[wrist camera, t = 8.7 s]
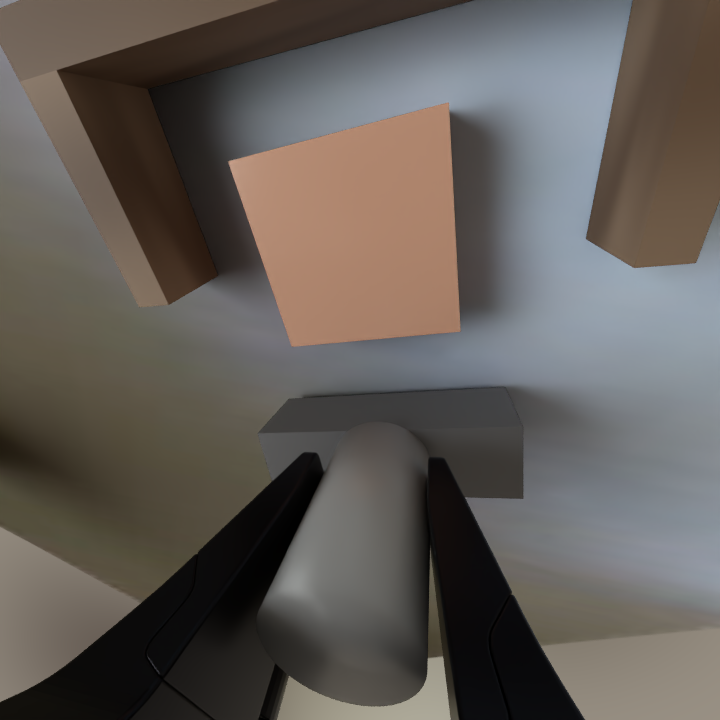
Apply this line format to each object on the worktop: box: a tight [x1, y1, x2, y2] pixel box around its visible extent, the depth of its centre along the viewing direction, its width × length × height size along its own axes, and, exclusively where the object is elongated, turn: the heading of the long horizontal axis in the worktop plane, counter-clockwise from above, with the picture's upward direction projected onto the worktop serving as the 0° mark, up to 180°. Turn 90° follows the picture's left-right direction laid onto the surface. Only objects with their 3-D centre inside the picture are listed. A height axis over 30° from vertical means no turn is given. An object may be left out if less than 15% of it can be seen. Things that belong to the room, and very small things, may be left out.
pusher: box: [256, 387, 523, 706], centre depth 9 cm, size 3×8×8 cm, turn 102°
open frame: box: [0, 0, 720, 307], centre depth 7 cm, size 6×13×2 cm, turn 99°
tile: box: [228, 102, 461, 347], centre depth 9 cm, size 5×5×2 cm
